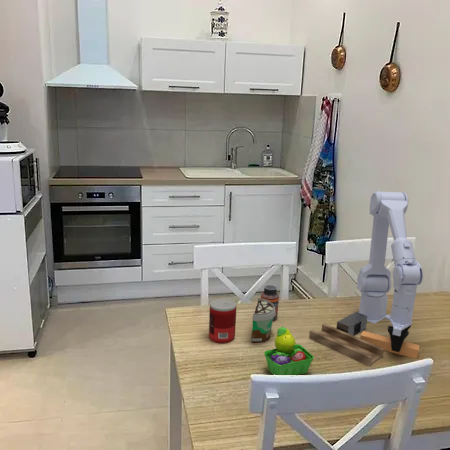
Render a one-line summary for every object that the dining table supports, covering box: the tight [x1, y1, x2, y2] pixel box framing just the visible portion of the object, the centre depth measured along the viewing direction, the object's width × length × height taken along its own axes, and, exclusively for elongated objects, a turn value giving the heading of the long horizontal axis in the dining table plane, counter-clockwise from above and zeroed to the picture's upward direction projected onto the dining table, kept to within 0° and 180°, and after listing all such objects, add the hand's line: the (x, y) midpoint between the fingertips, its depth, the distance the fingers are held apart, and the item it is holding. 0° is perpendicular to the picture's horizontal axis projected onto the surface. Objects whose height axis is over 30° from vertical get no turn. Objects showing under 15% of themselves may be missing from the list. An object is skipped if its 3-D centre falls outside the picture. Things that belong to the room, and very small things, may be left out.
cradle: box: [308, 322, 385, 367], centre depth 136 cm, size 20×8×3 cm, turn 44°
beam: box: [335, 311, 368, 337], centre depth 145 cm, size 11×4×5 cm, turn 134°
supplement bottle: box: [260, 284, 280, 323], centre depth 151 cm, size 6×6×11 cm
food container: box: [251, 297, 276, 344], centre depth 140 cm, size 12×6×10 cm, turn 168°
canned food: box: [208, 298, 237, 344], centre depth 138 cm, size 8×8×11 cm
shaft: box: [360, 330, 420, 359], centre depth 136 cm, size 16×3×3 cm, turn 62°
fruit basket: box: [263, 326, 315, 376], centre depth 122 cm, size 11×9×11 cm
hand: (396, 347), depth 135 cm, fingers closed on shaft, 3 cm apart
